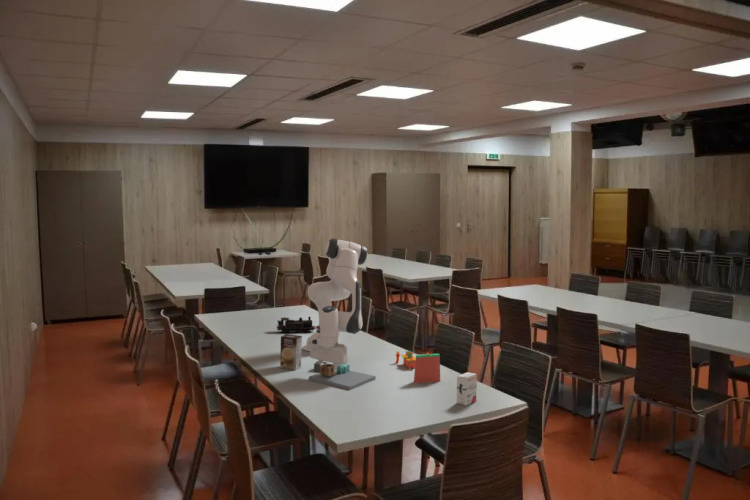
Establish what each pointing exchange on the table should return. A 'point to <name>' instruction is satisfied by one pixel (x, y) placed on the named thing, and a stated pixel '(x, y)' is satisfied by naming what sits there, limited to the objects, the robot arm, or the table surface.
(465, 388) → the ink box
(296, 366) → the coffee box
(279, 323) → the toy train
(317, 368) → the dark gray block
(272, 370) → the table surface
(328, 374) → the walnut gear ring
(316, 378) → the gear board
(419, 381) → the toy building block set
